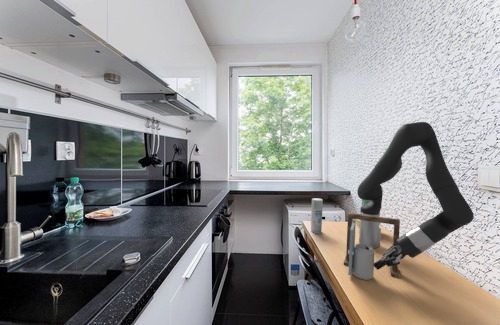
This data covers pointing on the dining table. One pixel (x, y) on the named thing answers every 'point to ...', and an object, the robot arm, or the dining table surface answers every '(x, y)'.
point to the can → (363, 261)
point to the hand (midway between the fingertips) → (375, 266)
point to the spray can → (316, 215)
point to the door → (351, 247)
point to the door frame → (395, 222)
